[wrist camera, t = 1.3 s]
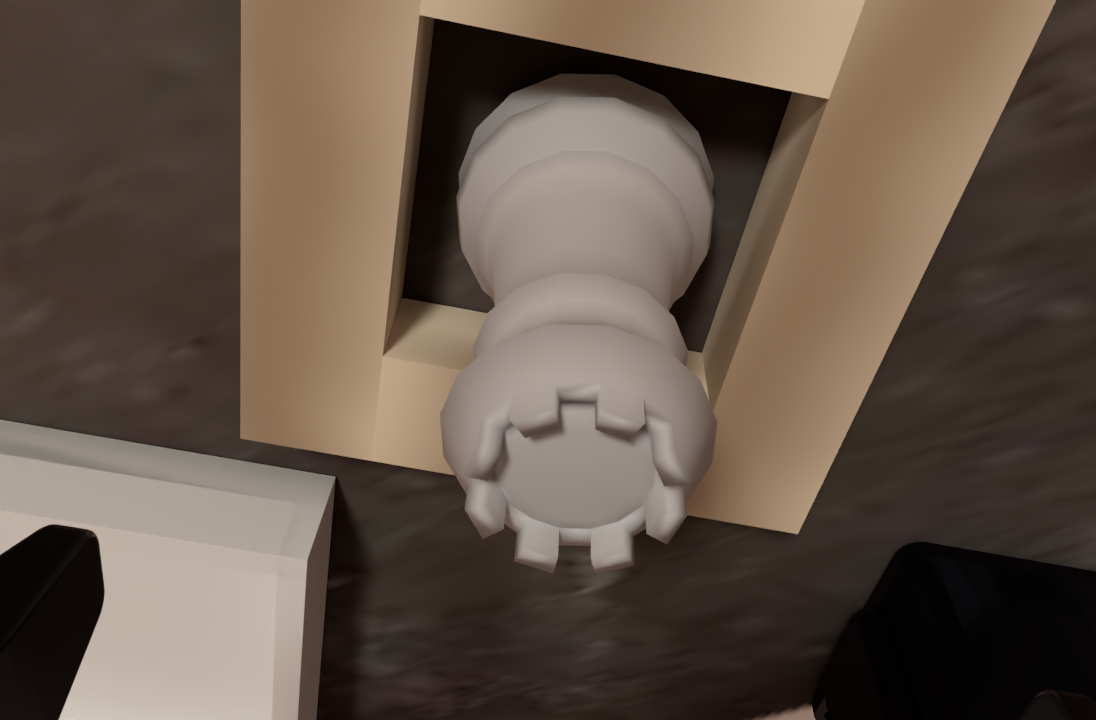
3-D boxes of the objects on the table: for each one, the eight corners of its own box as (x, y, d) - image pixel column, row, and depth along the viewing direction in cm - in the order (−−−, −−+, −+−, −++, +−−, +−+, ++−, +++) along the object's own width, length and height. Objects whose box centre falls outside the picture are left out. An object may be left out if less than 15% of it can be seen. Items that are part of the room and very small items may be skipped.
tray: (335, 476, 21) (307, 560, 19) (314, 733, 27) (291, 819, 25) (-223, 381, 20) (-314, 458, 18) (-121, 668, 26) (-183, 750, 24)
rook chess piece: (613, 332, 19) (620, 675, 12) (415, 215, 17) (303, 528, 11) (765, 156, 16) (872, 462, 10) (551, 7, 15) (512, 243, 9)
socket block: (1022, -75, 14) (1077, -45, 13) (781, 467, 20) (797, 534, 19) (285, -239, 13) (241, -229, 12) (270, 376, 20) (240, 438, 18)
